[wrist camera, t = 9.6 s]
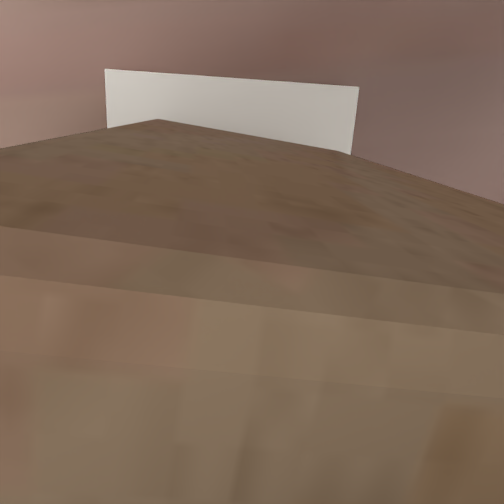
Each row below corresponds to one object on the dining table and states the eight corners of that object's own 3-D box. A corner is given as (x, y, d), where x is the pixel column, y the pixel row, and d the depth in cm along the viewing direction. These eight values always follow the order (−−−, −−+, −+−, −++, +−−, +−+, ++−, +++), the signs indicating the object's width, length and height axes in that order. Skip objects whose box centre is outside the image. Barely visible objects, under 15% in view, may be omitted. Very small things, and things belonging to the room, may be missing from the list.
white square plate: (345, 88, 30) (359, 86, 27) (320, 294, 35) (330, 310, 32) (114, 72, 29) (104, 68, 26) (123, 291, 34) (115, 307, 31)
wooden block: (130, 302, 24) (-182, 1074, 5) (148, 116, 21) (-498, 198, 2) (303, 322, 25) (592, 973, 6) (344, 151, 22) (1142, 400, 3)
